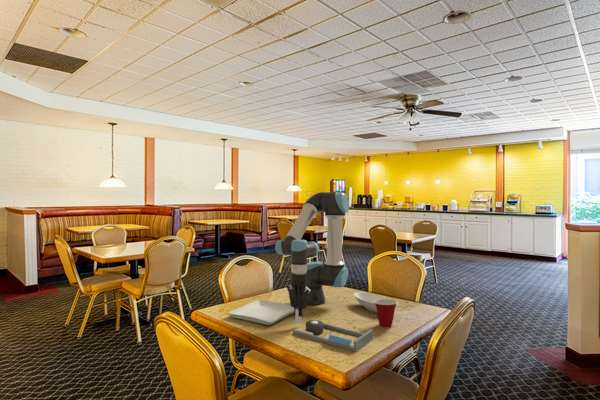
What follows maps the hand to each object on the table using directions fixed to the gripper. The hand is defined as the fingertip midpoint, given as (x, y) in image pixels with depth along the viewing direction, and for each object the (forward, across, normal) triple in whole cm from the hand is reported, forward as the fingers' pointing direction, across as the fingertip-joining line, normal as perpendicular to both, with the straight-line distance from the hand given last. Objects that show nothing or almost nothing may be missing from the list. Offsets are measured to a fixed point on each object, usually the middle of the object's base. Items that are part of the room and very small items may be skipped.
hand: (298, 322), depth 166 cm
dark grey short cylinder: (+2, +9, 0) cm, 9 cm away
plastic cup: (+2, +32, +27) cm, 42 cm away
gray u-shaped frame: (+2, +18, 0) cm, 18 cm away
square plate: (+3, -24, +3) cm, 24 cm away
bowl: (+2, +18, +47) cm, 51 cm away
